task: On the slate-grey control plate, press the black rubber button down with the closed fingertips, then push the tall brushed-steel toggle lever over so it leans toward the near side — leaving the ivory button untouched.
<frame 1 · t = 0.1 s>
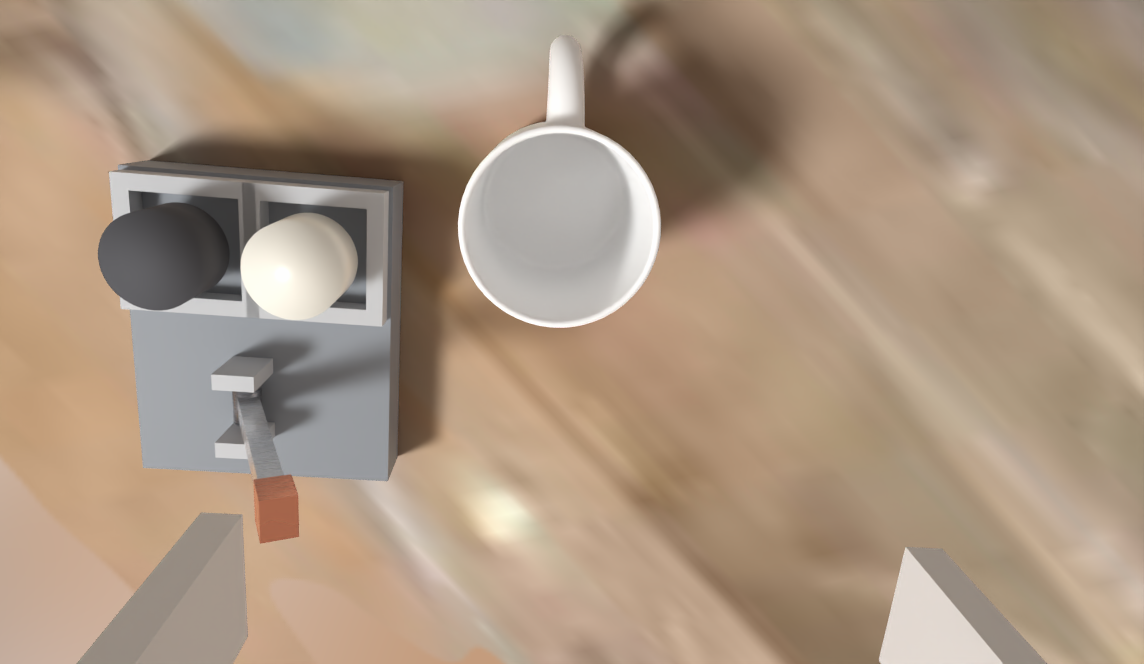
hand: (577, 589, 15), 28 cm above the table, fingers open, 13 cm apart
panel: (281, 318, 42), on the table
button ivory: (301, 265, 35), point 6 cm above the table, slide at 0.0 cm
mug: (556, 164, 40), on the table
button black: (166, 255, 34), point 6 cm above the table, slide at 0.0 cm
lever: (260, 449, 34), point 9 cm above the table, hinge at -25.0°
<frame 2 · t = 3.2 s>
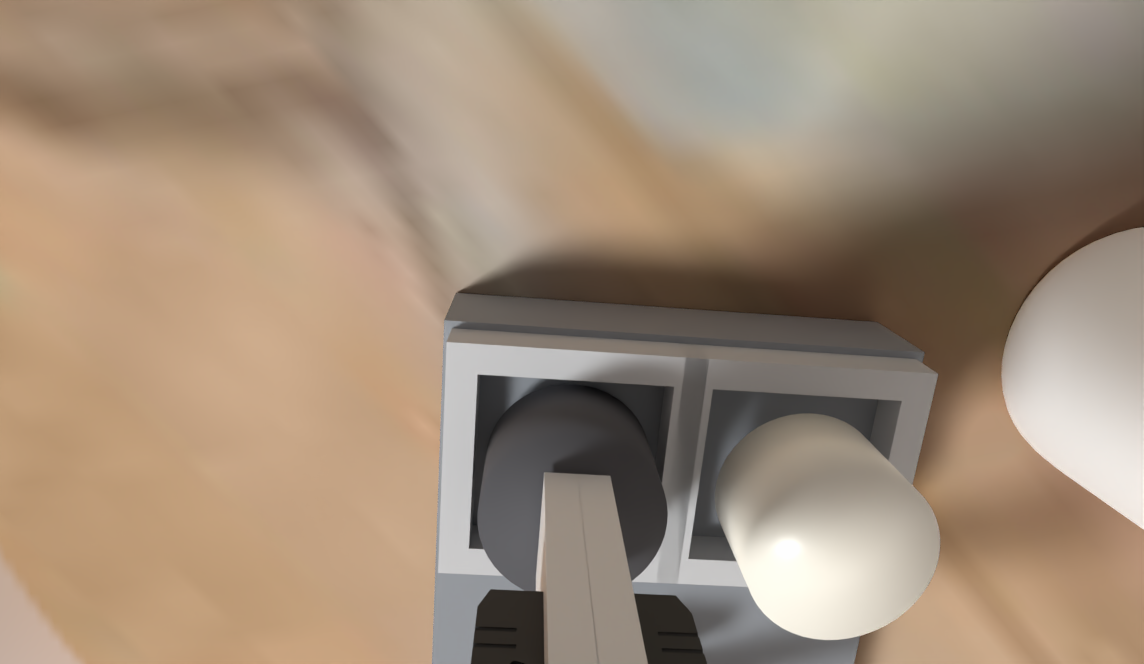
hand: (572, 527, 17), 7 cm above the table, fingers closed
panel: (642, 537, 25), on the table
button ivory: (818, 521, 18), point 6 cm above the table, slide at 0.0 cm
mug: (1129, 291, 24), on the table
button black: (570, 487, 19), point 5 cm above the table, slide at 1.0 cm, touching gripper
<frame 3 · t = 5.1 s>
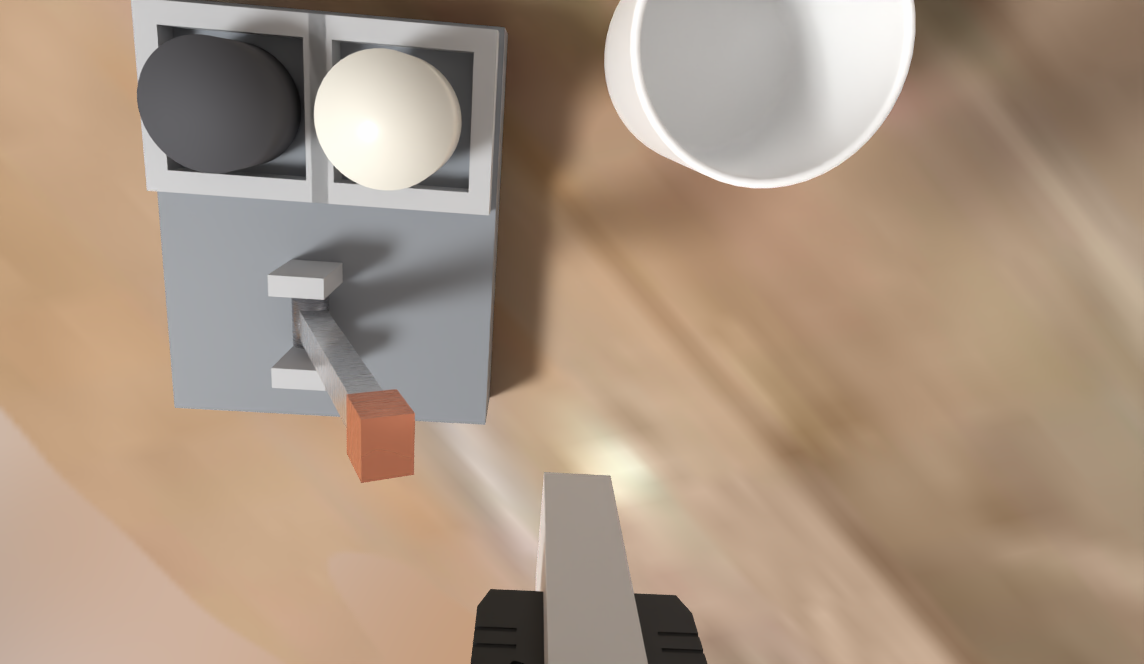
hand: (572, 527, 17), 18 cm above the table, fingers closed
panel: (347, 218, 33), on the table
button ivory: (392, 120, 26), point 6 cm above the table, slide at 0.0 cm
mug: (704, 12, 31), on the table
button black: (224, 105, 26), point 5 cm above the table, slide at 1.1 cm
lever: (339, 368, 25), point 9 cm above the table, hinge at -25.0°
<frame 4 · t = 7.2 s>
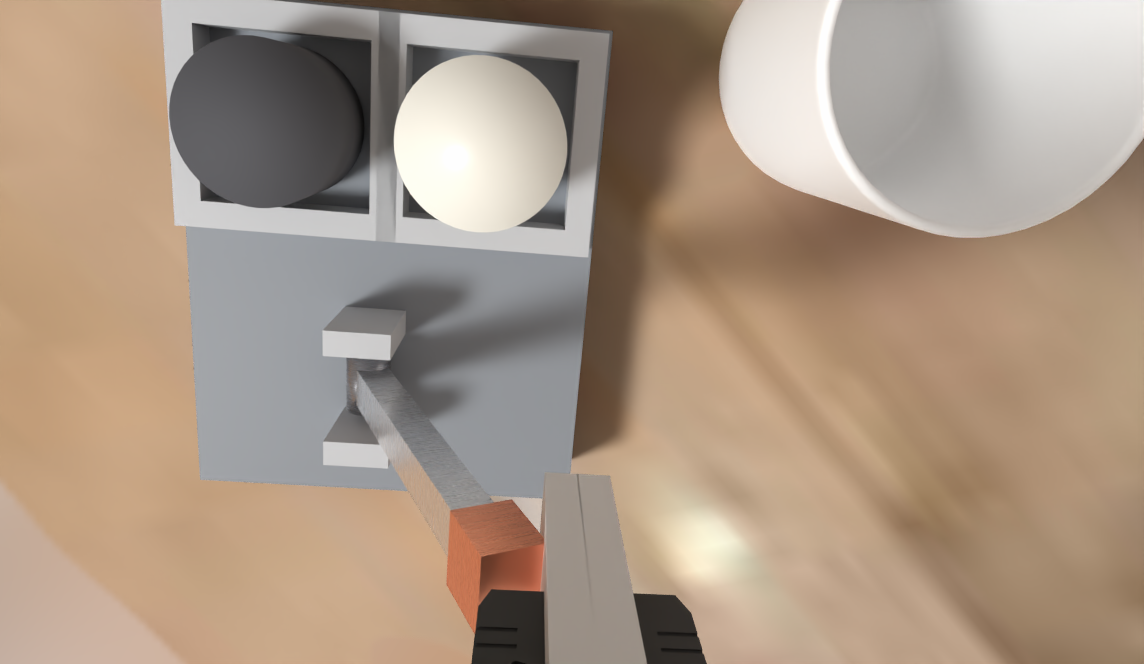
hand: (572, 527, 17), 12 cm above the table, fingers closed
panel: (406, 254, 28), on the table
button ivory: (484, 143, 21), point 6 cm above the table, slide at 0.0 cm
mug: (836, 16, 26), on the table
button black: (274, 123, 21), point 5 cm above the table, slide at 1.1 cm
lever: (418, 453, 20), point 9 cm above the table, hinge at -24.9°, touching gripper
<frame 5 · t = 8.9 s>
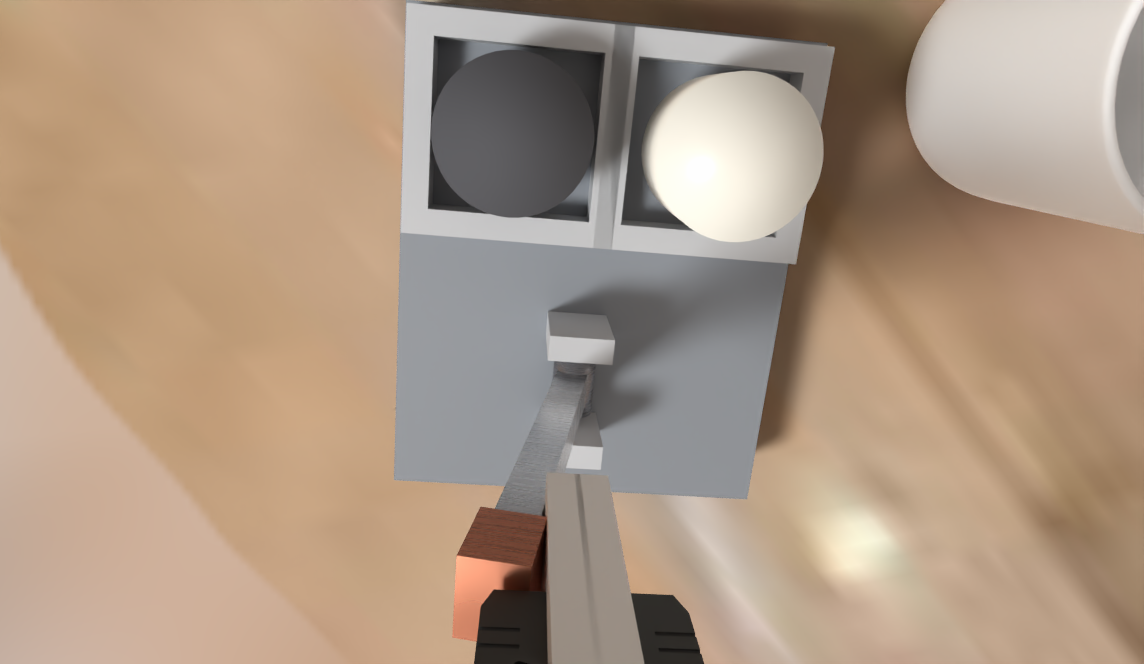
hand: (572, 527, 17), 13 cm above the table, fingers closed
panel: (588, 259, 28), on the table
button ivory: (726, 155, 21), point 6 cm above the table, slide at 0.0 cm
mug: (1018, 27, 27), on the table
button black: (514, 134, 22), point 5 cm above the table, slide at 1.1 cm
lever: (545, 456, 20), point 10 cm above the table, hinge at 10.6°, touching gripper
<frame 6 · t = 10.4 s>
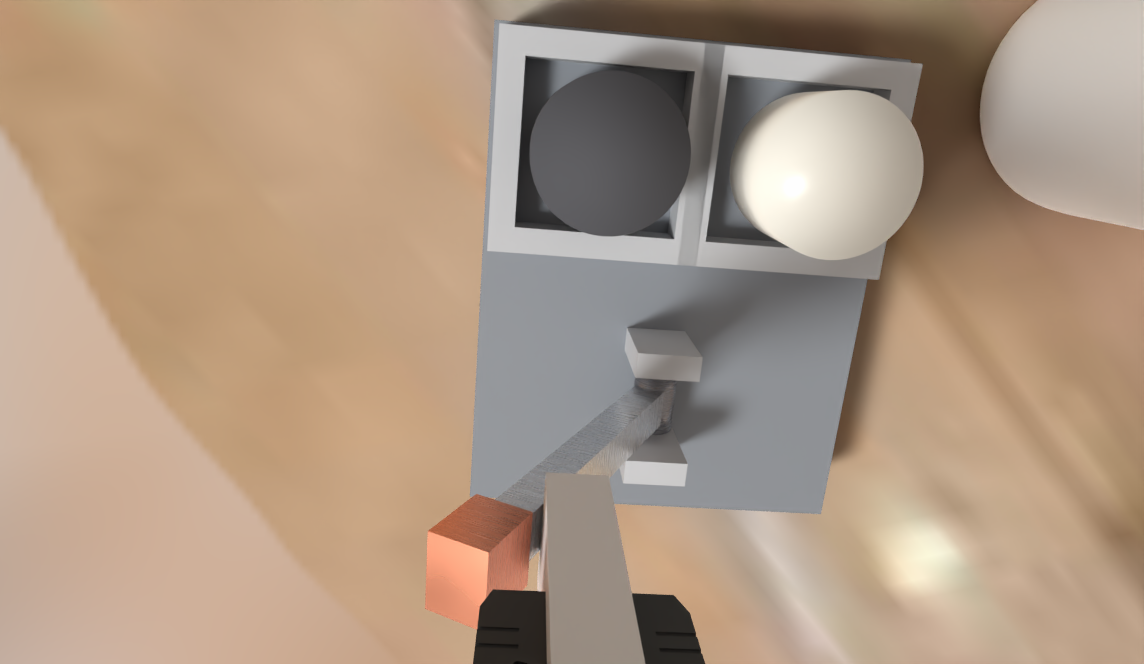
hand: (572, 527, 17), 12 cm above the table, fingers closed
panel: (660, 274, 28), on the table
button ivory: (820, 172, 21), point 6 cm above the table, slide at 0.0 cm
mug: (1092, 41, 27), on the table
button black: (605, 152, 22), point 5 cm above the table, slide at 1.1 cm
lever: (585, 462, 20), point 9 cm above the table, hinge at 28.1°, touching gripper
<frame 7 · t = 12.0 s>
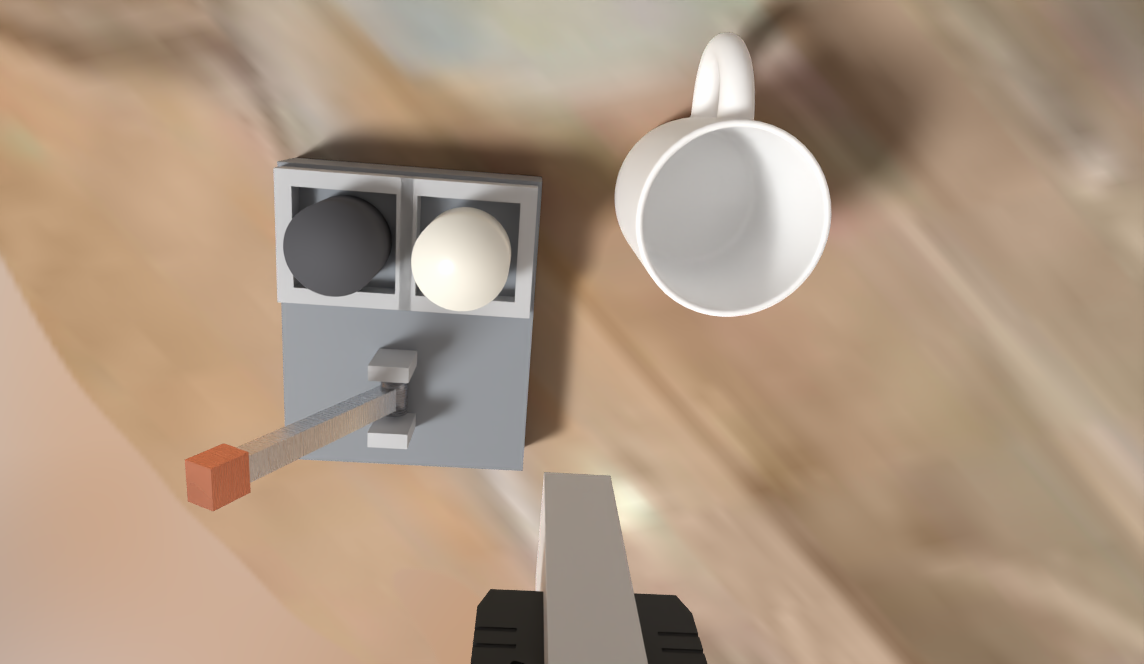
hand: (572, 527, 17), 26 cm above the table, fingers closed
panel: (416, 311, 43), on the table
button ivory: (463, 257, 36), point 6 cm above the table, slide at 0.0 cm
mug: (690, 159, 41), on the table
button black: (339, 244, 36), point 5 cm above the table, slide at 1.1 cm
lever: (316, 430, 35), point 9 cm above the table, hinge at 28.1°
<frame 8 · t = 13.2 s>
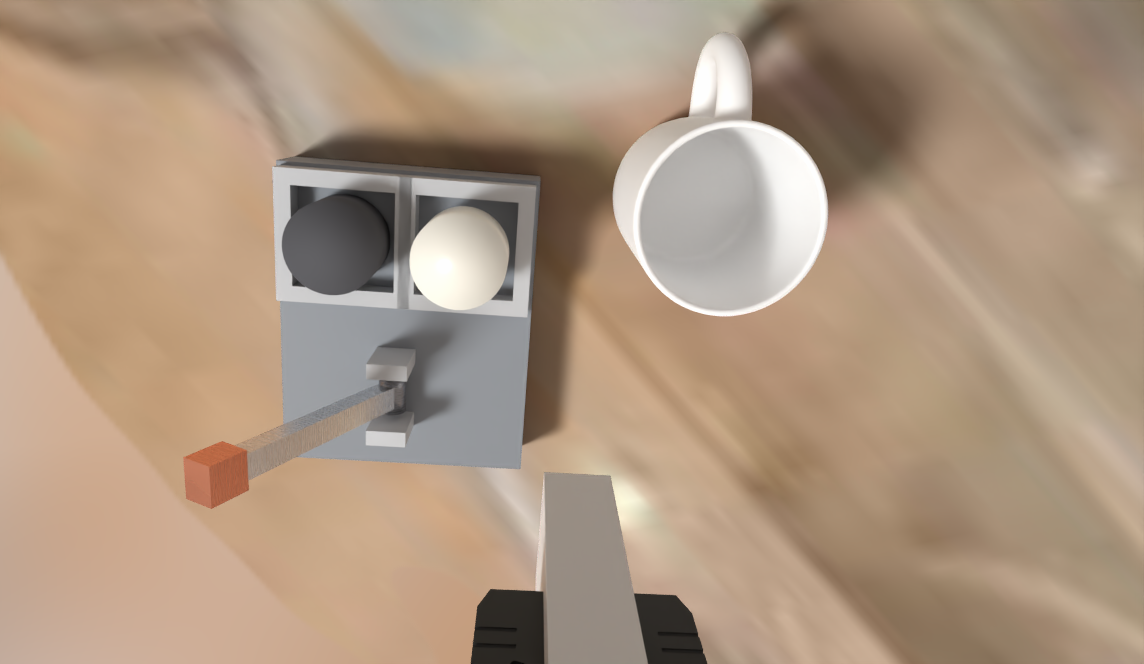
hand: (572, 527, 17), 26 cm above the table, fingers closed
panel: (415, 310, 43), on the table
button ivory: (461, 256, 36), point 6 cm above the table, slide at 0.0 cm
mug: (688, 159, 41), on the table
button black: (338, 243, 36), point 5 cm above the table, slide at 1.1 cm
lever: (315, 428, 35), point 9 cm above the table, hinge at 28.1°
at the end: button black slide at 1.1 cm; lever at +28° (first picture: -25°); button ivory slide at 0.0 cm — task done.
